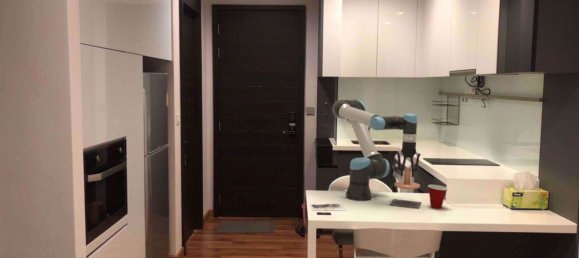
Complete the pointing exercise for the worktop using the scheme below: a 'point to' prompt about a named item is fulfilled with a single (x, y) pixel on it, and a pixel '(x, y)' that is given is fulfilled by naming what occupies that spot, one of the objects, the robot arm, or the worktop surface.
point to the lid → (407, 181)
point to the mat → (405, 203)
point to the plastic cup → (437, 195)
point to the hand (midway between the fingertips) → (407, 182)
